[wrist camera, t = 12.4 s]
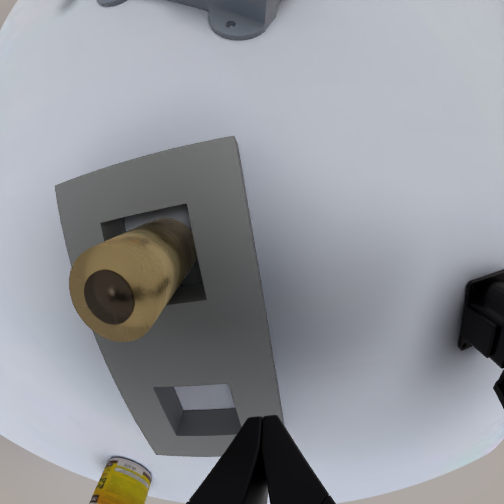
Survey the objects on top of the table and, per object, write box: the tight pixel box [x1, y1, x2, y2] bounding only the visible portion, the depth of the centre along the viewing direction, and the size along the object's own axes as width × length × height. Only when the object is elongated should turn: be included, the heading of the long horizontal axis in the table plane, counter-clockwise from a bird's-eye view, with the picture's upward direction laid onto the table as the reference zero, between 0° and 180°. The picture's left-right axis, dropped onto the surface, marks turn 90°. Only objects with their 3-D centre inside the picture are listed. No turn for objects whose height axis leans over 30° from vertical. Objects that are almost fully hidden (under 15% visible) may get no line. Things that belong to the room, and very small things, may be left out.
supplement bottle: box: [89, 458, 152, 504], centre depth 19 cm, size 6×6×10 cm
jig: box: [55, 136, 284, 457], centre depth 18 cm, size 11×22×3 cm, turn 9°
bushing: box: [69, 218, 197, 342], centre depth 14 cm, size 4×4×8 cm
